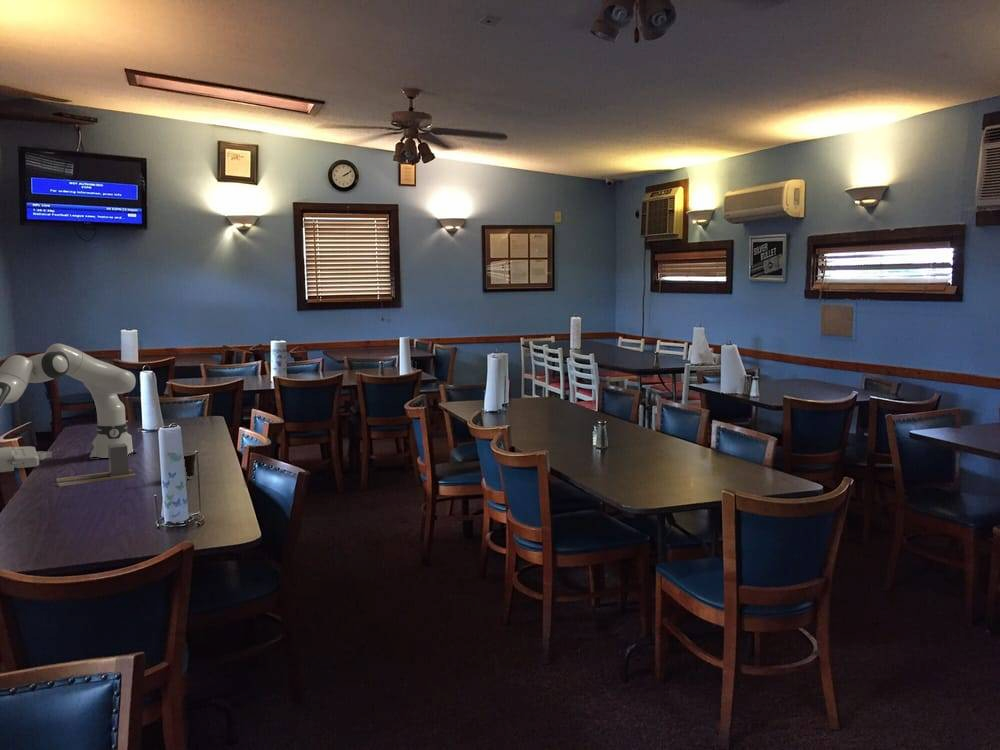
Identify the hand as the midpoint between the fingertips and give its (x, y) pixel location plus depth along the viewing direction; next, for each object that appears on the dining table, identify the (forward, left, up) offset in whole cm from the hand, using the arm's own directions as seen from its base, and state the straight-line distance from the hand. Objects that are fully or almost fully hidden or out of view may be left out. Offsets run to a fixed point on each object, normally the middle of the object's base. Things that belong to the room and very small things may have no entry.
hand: (51, 454), depth 283 cm
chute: (0, +14, -13) cm, 19 cm away
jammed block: (0, +22, -11) cm, 25 cm away
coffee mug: (+12, +44, -13) cm, 48 cm away
